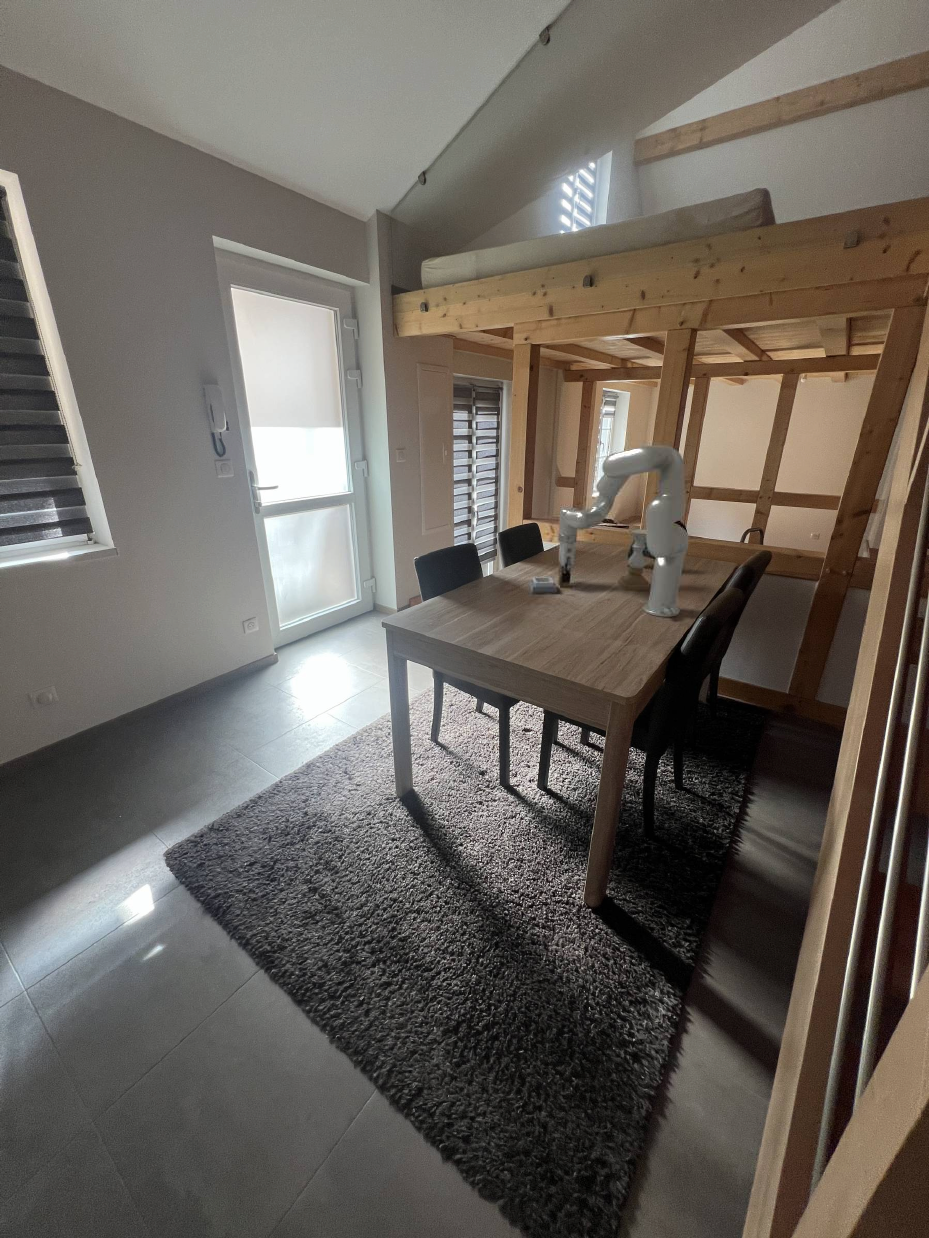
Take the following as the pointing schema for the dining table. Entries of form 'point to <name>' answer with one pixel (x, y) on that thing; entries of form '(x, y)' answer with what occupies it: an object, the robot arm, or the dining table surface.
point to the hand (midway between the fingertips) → (564, 579)
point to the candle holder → (636, 564)
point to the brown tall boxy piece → (561, 571)
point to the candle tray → (542, 585)
